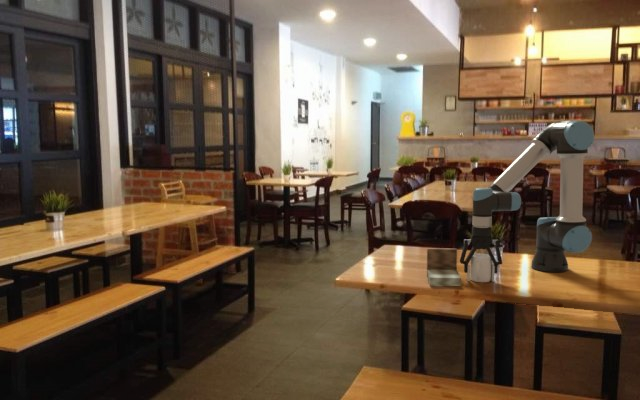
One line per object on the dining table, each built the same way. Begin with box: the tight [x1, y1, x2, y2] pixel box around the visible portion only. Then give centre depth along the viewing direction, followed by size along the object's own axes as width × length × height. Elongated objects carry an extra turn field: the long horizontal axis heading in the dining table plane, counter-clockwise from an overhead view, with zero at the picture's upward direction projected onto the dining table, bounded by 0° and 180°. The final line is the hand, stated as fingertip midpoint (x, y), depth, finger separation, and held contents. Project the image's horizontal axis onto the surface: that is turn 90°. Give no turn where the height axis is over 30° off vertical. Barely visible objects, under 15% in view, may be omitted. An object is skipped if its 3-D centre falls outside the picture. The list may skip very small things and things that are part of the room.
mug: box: [469, 252, 493, 283], centre depth 230 cm, size 12×8×10 cm
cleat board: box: [426, 247, 462, 287], centre depth 231 cm, size 12×16×12 cm
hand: (480, 280), depth 231 cm, fingers open, 9 cm apart
